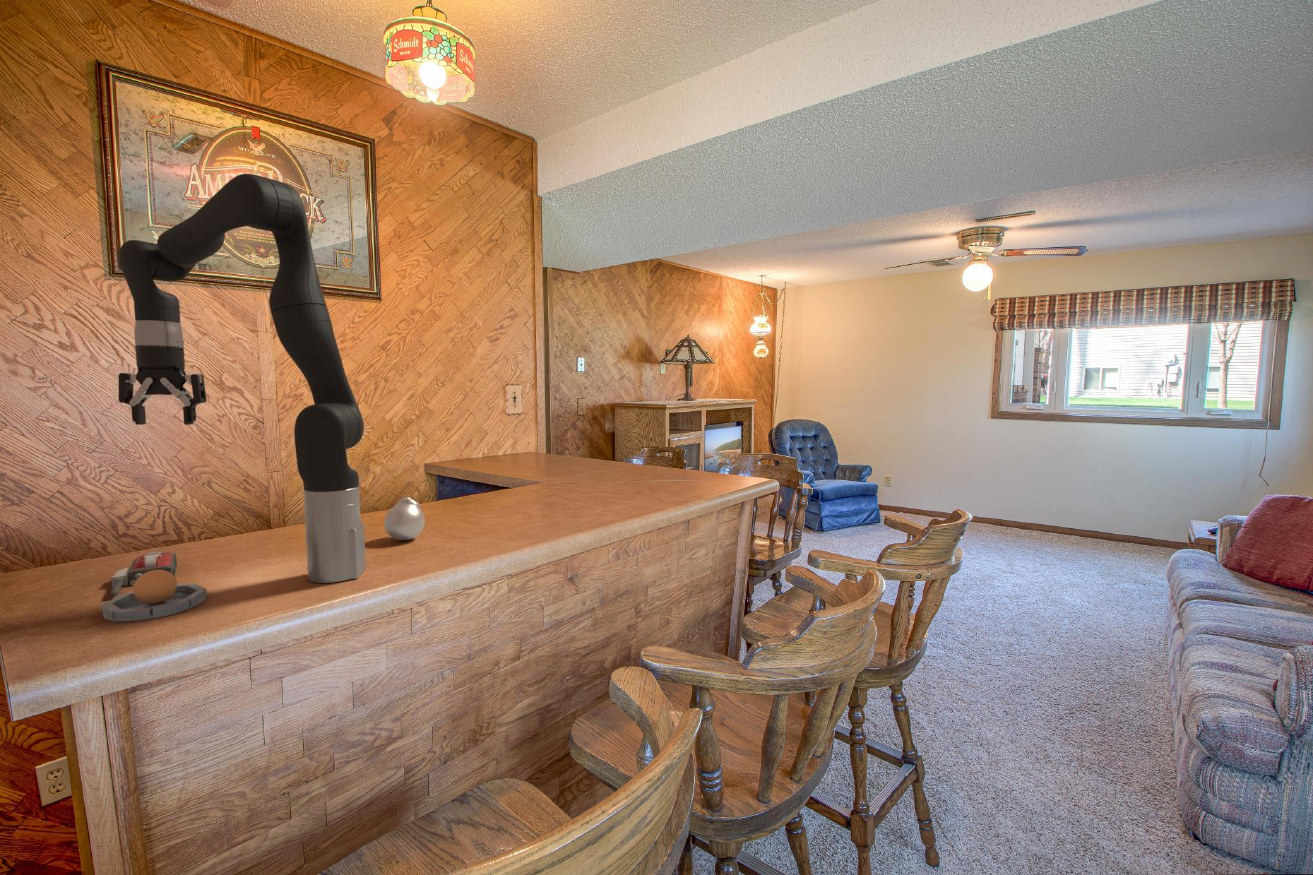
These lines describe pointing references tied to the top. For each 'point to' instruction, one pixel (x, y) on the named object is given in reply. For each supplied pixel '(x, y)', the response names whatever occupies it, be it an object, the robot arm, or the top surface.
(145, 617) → the dish
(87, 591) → the top surface
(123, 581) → the walkie-talkie
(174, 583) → the ball
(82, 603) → the top surface
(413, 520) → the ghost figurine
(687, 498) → the top surface
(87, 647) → the top surface
